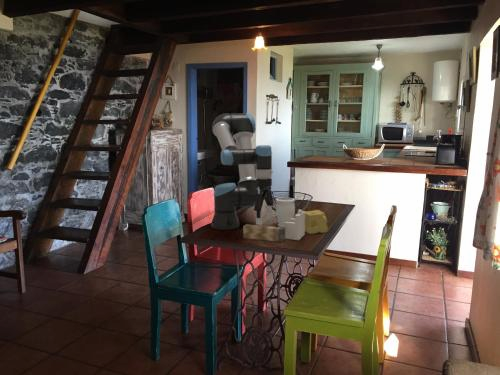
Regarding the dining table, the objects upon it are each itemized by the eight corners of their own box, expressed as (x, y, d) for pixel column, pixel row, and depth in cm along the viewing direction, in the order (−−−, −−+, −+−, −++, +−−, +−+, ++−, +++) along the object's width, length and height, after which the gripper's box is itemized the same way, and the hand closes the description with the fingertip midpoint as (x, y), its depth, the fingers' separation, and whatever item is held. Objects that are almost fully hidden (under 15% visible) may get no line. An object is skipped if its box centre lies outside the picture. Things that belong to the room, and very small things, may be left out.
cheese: (327, 232, 216) (328, 213, 214) (308, 234, 212) (309, 215, 211) (317, 227, 225) (318, 209, 224) (299, 229, 222) (299, 211, 220)
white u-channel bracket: (284, 238, 205) (284, 210, 202) (291, 233, 215) (291, 206, 212) (299, 240, 202) (299, 211, 200) (305, 234, 212) (305, 207, 210)
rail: (243, 237, 207) (243, 225, 206) (246, 235, 211) (246, 224, 210) (282, 242, 199) (282, 229, 198) (284, 239, 203) (284, 227, 202)
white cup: (293, 228, 224) (294, 201, 221) (274, 227, 226) (274, 200, 223) (295, 223, 234) (295, 197, 231) (277, 223, 236) (277, 196, 234)
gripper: (262, 181, 187) (262, 227, 190) (279, 175, 210) (279, 216, 213) (246, 180, 190) (247, 226, 193) (265, 174, 213) (265, 215, 216)
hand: (264, 221), depth 203 cm, fingers open, 13 cm apart
